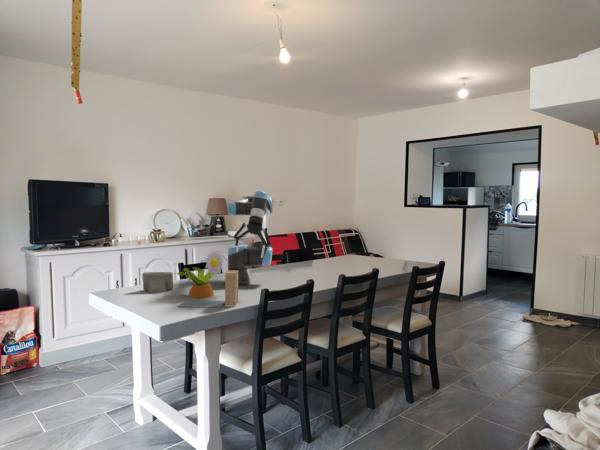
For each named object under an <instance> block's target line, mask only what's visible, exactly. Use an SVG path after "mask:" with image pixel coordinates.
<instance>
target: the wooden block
mask: <svg viewBox="0 0 600 450" xmlns="http://www.w3.org/2000/svg"><path fill="white" fill-rule="evenodd" d="M224 274H225V276H224V287H225V288H224V291H225V293H224V301H225V303H224V306H225V307H237V305H238V303H239V286H238V271H228V270H227V271H226V272H224Z"/></svg>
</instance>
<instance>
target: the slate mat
mask: <svg viewBox="0 0 600 450" xmlns="http://www.w3.org/2000/svg"><path fill="white" fill-rule="evenodd" d="M223 305H225V300H221V299H220V300H216V299H215V300H213V299H212V300H210V299H202V300H201V299H185V300H184V301H183V302H181V303H180V304H179V305H178V306H177V308H200V307H203V308H207V309H208V308H210V309H211V308H213V309H217V308H218V309H221V308H222V307H223Z"/></svg>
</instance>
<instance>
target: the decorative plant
mask: <svg viewBox="0 0 600 450" xmlns="http://www.w3.org/2000/svg"><path fill="white" fill-rule="evenodd" d="M206 255H207V256H206V257H205V258H204V260H205V262H206V265H205V267H204V269H201V268H199V267H196V266H195V267H194V266H193V267H192V269H193V270H195V271H198V276H197V275H196V274H195V273H193V272H192V271H191V270H190V269H189V268H188V267H187V268H185V267H184V268H183V269H182V271H180V272H177V273H175V272H173V275H178V276H186V277H187V278H188V280H187V281H188V282H190V281H192V282H193V284H192V286H191V287H190V289H189V291H188V297H189V298H194V299H206V298H212V297H214V296H215V294H214V290H213V288H212V286H211V284H210V283H209V282H208V281H209V280H211V278H213V277H214V276H215V277H217V276H218V275H219V274H221V271H222V270H223V269H224V267H223V263H224V260H223V258H222V257H223V254H219V252H218V250H214V249H212V250H211V252H209V253H207V254H206ZM207 269H208V270H207ZM206 270H207V273H205V271H206Z"/></svg>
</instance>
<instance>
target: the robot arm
mask: <svg viewBox="0 0 600 450" xmlns="http://www.w3.org/2000/svg"><path fill="white" fill-rule="evenodd" d="M227 213H228V214H227V215H230V216H249V219H248V224H246V223H245V222H243V223H242V225H241V227H240V228H239V229H238V230H237V231H236V232H235V234H234V235H233V240H234V239H235V245H231V246H229V247H228V249H227V271H238V287H239V286H240V287H241V286H248V285H250V284H251V278H250V276H249V272H248V267H263V268H264V267H269V266H271V265H272V259H273V249H274V248H273V247H271V239H270V237H269V218H270V217H271V215H272V214H273V213H274V210H273V200H272V198H271V197H270V196H268V193H267V192H265V191H263V190H257V191H255V192H254V194H253V196H252V195H251V196H249V195H247V196H242V197H239V198H237V199H236V200H235V201H229V202H228V203H227ZM245 228H247V229H246V230H245V231H243V230H244V229H245ZM242 231H243V232H242ZM241 232H242V233H241ZM240 233H241V234H240ZM247 234H251V235H253V243H252V244H251V247H250V246H249V245H248V244H241V239H242V238H243V237H245V236H246V235H247Z"/></svg>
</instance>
